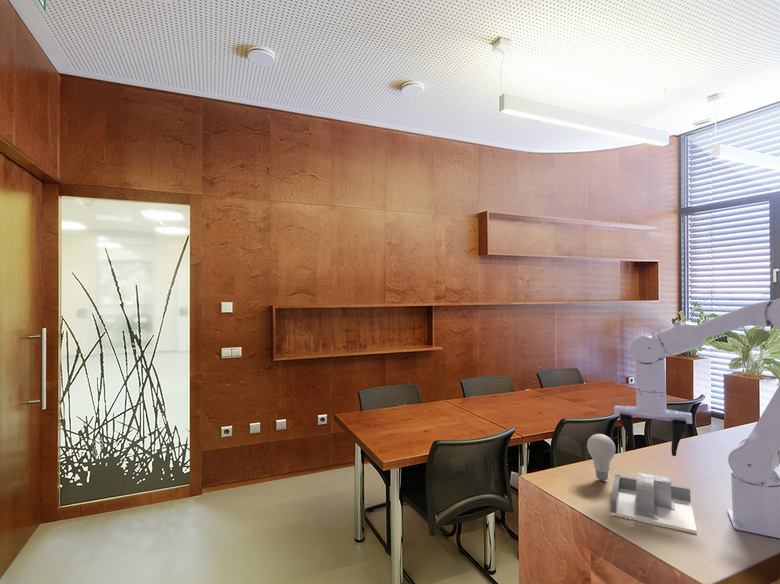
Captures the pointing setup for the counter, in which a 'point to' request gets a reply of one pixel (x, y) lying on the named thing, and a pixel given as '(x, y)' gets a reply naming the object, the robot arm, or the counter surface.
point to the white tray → (664, 516)
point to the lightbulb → (601, 454)
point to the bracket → (652, 493)
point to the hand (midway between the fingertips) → (652, 451)
